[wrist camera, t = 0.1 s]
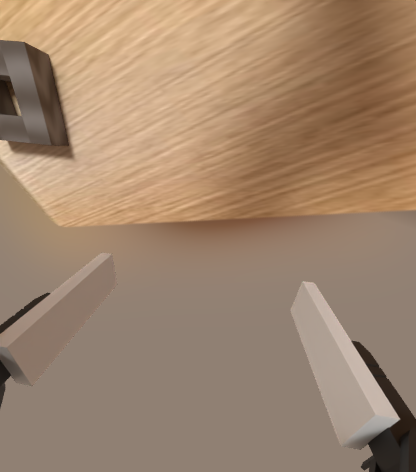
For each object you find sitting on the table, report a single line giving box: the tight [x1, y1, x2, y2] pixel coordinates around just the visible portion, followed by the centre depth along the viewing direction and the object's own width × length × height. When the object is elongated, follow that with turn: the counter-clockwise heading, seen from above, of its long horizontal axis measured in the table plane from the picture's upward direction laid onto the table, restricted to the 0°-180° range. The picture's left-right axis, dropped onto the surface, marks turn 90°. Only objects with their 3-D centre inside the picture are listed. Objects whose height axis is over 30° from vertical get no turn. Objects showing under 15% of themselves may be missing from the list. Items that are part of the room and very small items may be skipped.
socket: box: [0, 40, 69, 146], centre depth 32 cm, size 14×14×4 cm
